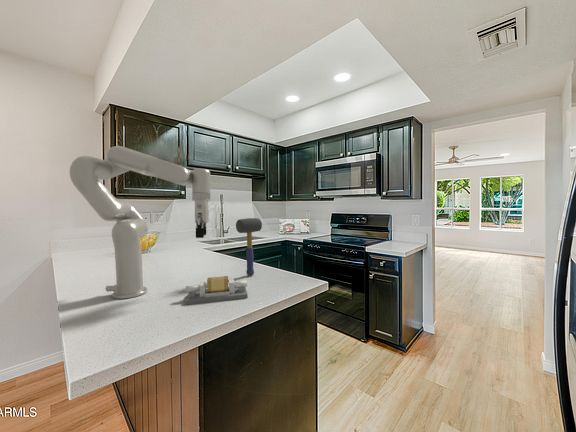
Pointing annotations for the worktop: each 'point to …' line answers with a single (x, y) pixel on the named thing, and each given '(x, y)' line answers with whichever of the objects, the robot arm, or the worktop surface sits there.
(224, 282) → the coupler
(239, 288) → the shaft stand
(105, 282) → the worktop surface
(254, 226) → the rubber mallet
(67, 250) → the worktop surface
